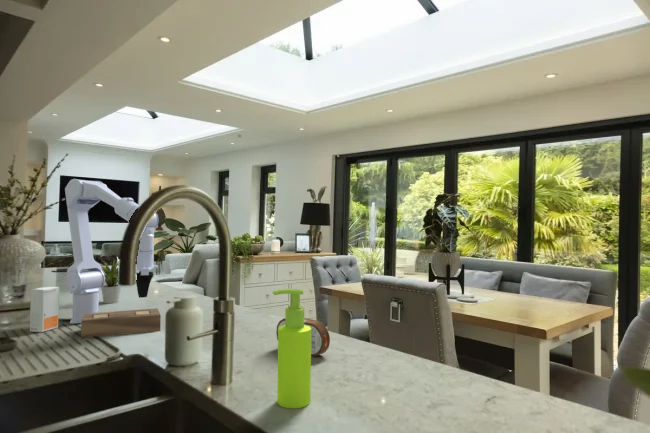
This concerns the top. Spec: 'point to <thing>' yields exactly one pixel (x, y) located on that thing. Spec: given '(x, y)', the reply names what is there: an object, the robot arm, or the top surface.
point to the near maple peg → (100, 316)
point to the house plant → (111, 284)
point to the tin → (314, 336)
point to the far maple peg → (142, 312)
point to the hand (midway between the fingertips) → (142, 297)
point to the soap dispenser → (294, 355)
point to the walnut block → (120, 323)
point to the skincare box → (44, 309)
